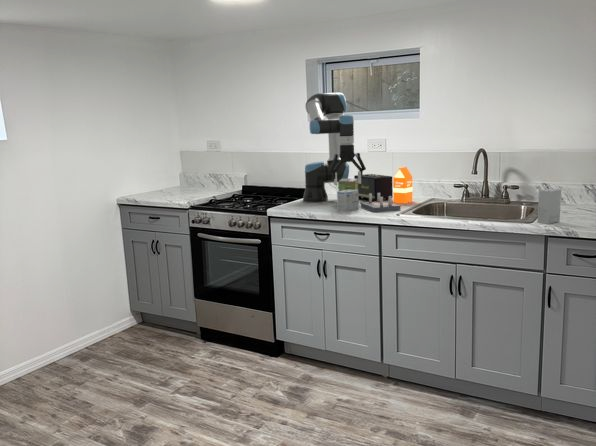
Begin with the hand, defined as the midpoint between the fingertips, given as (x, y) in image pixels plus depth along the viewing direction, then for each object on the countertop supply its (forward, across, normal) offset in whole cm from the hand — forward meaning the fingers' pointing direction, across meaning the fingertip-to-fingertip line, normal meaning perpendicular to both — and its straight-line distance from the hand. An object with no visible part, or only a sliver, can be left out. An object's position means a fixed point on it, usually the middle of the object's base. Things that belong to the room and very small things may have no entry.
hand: (347, 184), depth 297 cm
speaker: (+14, +27, +30) cm, 43 cm away
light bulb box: (+14, 0, 0) cm, 14 cm away
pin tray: (+14, +17, -4) cm, 22 cm away
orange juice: (+14, +38, +12) cm, 42 cm away
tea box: (+14, +6, +16) cm, 23 cm away
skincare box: (+15, +69, -72) cm, 101 cm away
